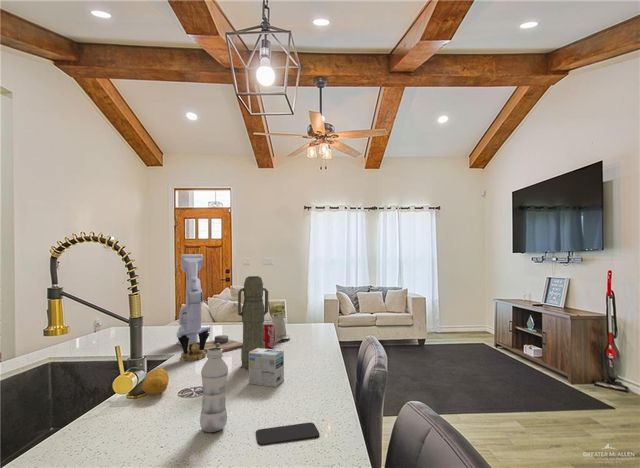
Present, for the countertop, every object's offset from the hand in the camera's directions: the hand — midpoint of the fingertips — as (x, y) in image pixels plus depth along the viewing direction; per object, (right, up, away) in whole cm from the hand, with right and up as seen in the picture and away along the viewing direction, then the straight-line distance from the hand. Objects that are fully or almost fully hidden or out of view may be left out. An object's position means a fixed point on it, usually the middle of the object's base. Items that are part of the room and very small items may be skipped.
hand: (193, 351), depth 156 cm
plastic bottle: (+27, 0, -63) cm, 68 cm away
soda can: (+29, -3, +13) cm, 32 cm away
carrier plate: (+6, -3, +17) cm, 18 cm away
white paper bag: (+32, -4, +32) cm, 45 cm away
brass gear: (0, -2, 0) cm, 2 cm away
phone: (+46, 0, -65) cm, 80 cm away
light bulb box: (+35, -1, -30) cm, 46 cm away
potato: (+1, -1, -39) cm, 39 cm away
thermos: (+27, -2, -11) cm, 30 cm away
